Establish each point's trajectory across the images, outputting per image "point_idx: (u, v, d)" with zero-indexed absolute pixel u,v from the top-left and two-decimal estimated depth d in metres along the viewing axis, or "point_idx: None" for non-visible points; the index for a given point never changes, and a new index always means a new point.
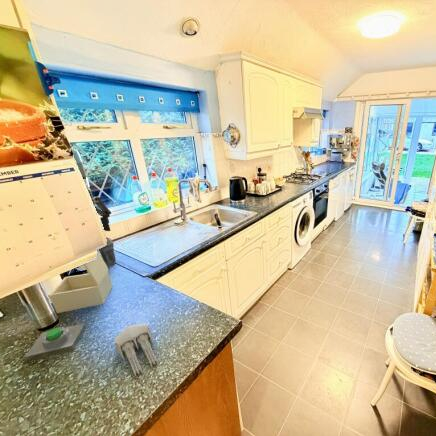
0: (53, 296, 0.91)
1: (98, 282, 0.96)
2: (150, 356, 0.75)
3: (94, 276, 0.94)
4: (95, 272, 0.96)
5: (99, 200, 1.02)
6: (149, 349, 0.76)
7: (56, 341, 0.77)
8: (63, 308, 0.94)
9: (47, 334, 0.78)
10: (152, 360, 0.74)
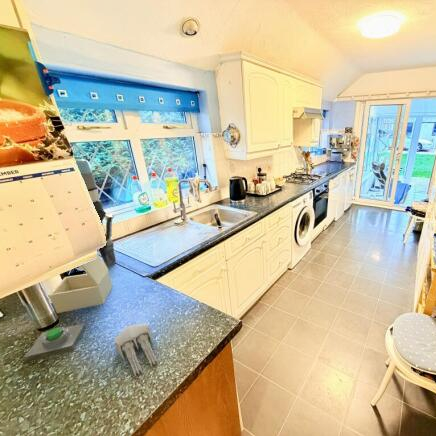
0: (53, 296, 0.91)
1: (98, 282, 0.96)
2: (150, 356, 0.75)
3: (93, 276, 0.94)
4: (94, 272, 0.96)
5: (109, 220, 0.93)
6: (149, 349, 0.76)
7: (56, 341, 0.77)
8: (63, 308, 0.94)
9: (47, 334, 0.78)
10: (152, 360, 0.74)
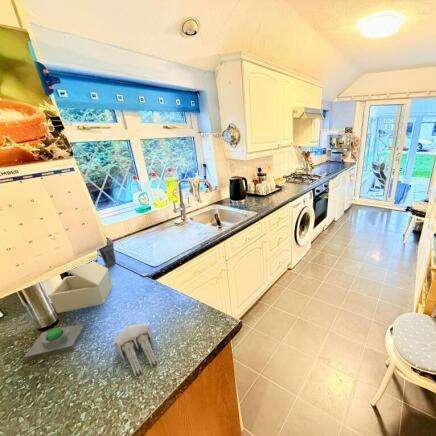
0: (53, 296, 0.91)
1: (97, 282, 0.96)
2: (150, 356, 0.75)
3: (88, 279, 0.94)
4: (89, 275, 0.96)
5: None
6: (149, 349, 0.76)
7: (56, 341, 0.77)
8: (63, 308, 0.94)
9: (47, 334, 0.78)
10: (152, 360, 0.74)
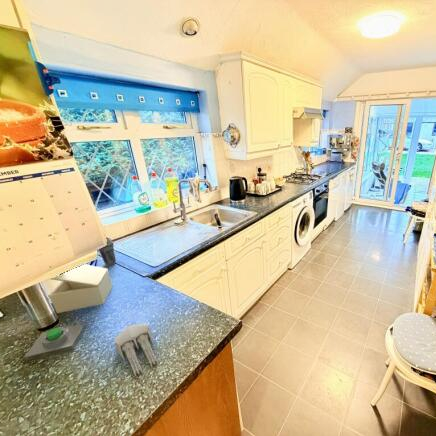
0: (53, 296, 0.91)
1: (96, 283, 0.96)
2: (150, 356, 0.75)
3: (86, 282, 0.94)
4: (86, 278, 0.96)
5: None
6: (149, 349, 0.76)
7: (56, 341, 0.77)
8: (63, 308, 0.94)
9: (47, 334, 0.78)
10: (152, 360, 0.74)
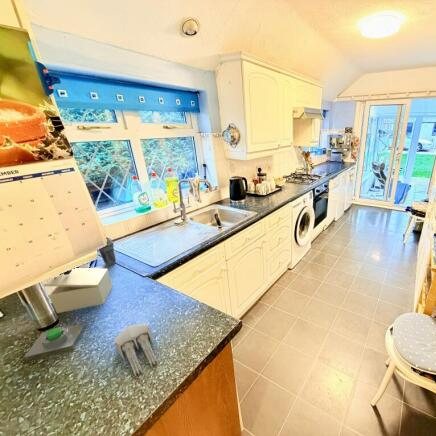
0: (53, 296, 0.91)
1: (95, 283, 0.96)
2: (150, 356, 0.75)
3: (85, 283, 0.94)
4: (86, 280, 0.96)
5: None
6: (149, 349, 0.76)
7: (56, 341, 0.77)
8: (63, 308, 0.94)
9: (47, 334, 0.78)
10: (152, 360, 0.74)
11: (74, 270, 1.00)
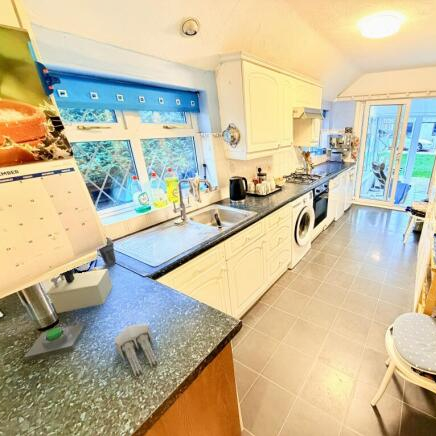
0: (53, 296, 0.91)
1: (95, 284, 0.96)
2: (150, 356, 0.75)
3: (85, 286, 0.94)
4: (86, 283, 0.96)
5: None
6: (149, 349, 0.76)
7: (56, 341, 0.77)
8: (63, 308, 0.94)
9: (47, 334, 0.78)
10: (152, 360, 0.74)
11: (75, 276, 1.00)
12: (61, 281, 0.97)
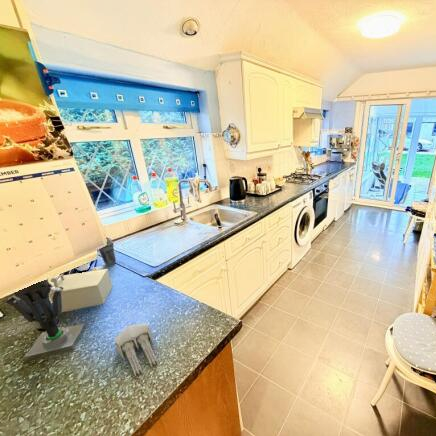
0: None
1: (95, 284, 0.96)
2: (150, 356, 0.75)
3: (85, 286, 0.94)
4: (86, 283, 0.96)
5: (55, 295, 0.74)
6: (149, 349, 0.76)
7: (56, 341, 0.77)
8: (63, 308, 0.94)
9: (48, 336, 0.78)
10: (152, 360, 0.74)
11: (75, 276, 1.00)
12: (61, 281, 0.97)
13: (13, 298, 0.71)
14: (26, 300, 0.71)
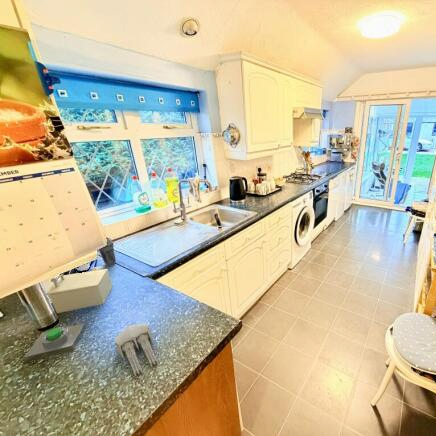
0: (53, 296, 0.91)
1: (95, 284, 0.96)
2: (150, 356, 0.75)
3: (85, 286, 0.94)
4: (86, 283, 0.96)
5: None
6: (149, 349, 0.76)
7: (56, 341, 0.77)
8: (63, 308, 0.94)
9: (47, 334, 0.78)
10: (152, 360, 0.74)
11: (75, 276, 1.00)
12: (61, 281, 0.97)
13: None
14: None
